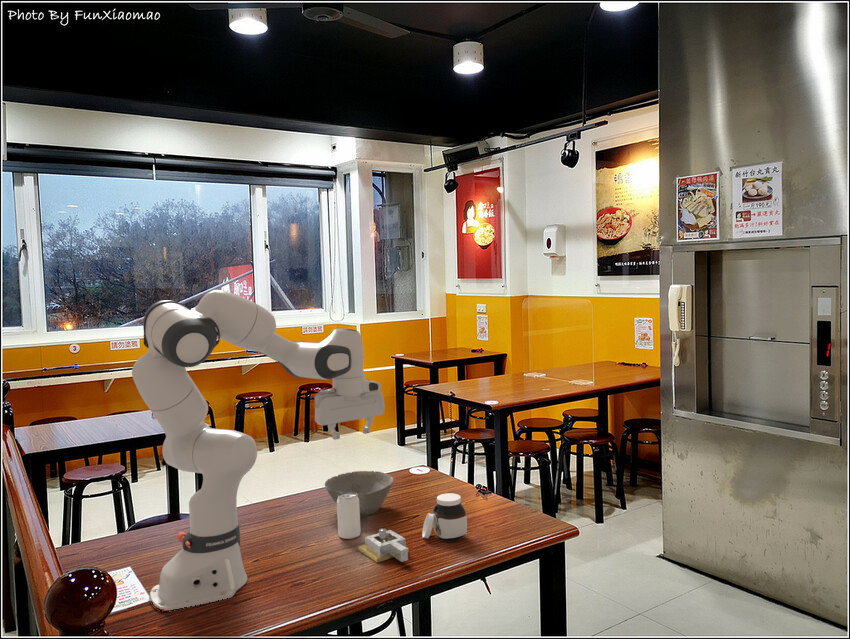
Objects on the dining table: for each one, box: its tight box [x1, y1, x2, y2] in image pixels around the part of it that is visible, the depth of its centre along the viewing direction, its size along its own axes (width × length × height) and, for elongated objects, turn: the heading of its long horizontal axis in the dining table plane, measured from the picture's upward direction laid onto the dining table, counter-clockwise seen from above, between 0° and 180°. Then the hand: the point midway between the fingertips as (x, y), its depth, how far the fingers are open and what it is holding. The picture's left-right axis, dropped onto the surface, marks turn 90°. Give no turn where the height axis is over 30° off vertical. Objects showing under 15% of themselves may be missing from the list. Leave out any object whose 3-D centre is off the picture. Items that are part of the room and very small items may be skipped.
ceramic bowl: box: [324, 470, 395, 517], centre depth 203 cm, size 22×23×10 cm
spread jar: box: [421, 492, 468, 543], centre depth 179 cm, size 12×11×12 cm
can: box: [336, 492, 361, 540], centre depth 184 cm, size 6×6×12 cm
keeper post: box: [358, 527, 410, 563], centre depth 172 cm, size 10×10×6 cm
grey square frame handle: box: [364, 529, 409, 563], centre depth 169 cm, size 14×8×3 cm, turn 34°
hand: (351, 436), depth 175 cm, fingers open, 8 cm apart
